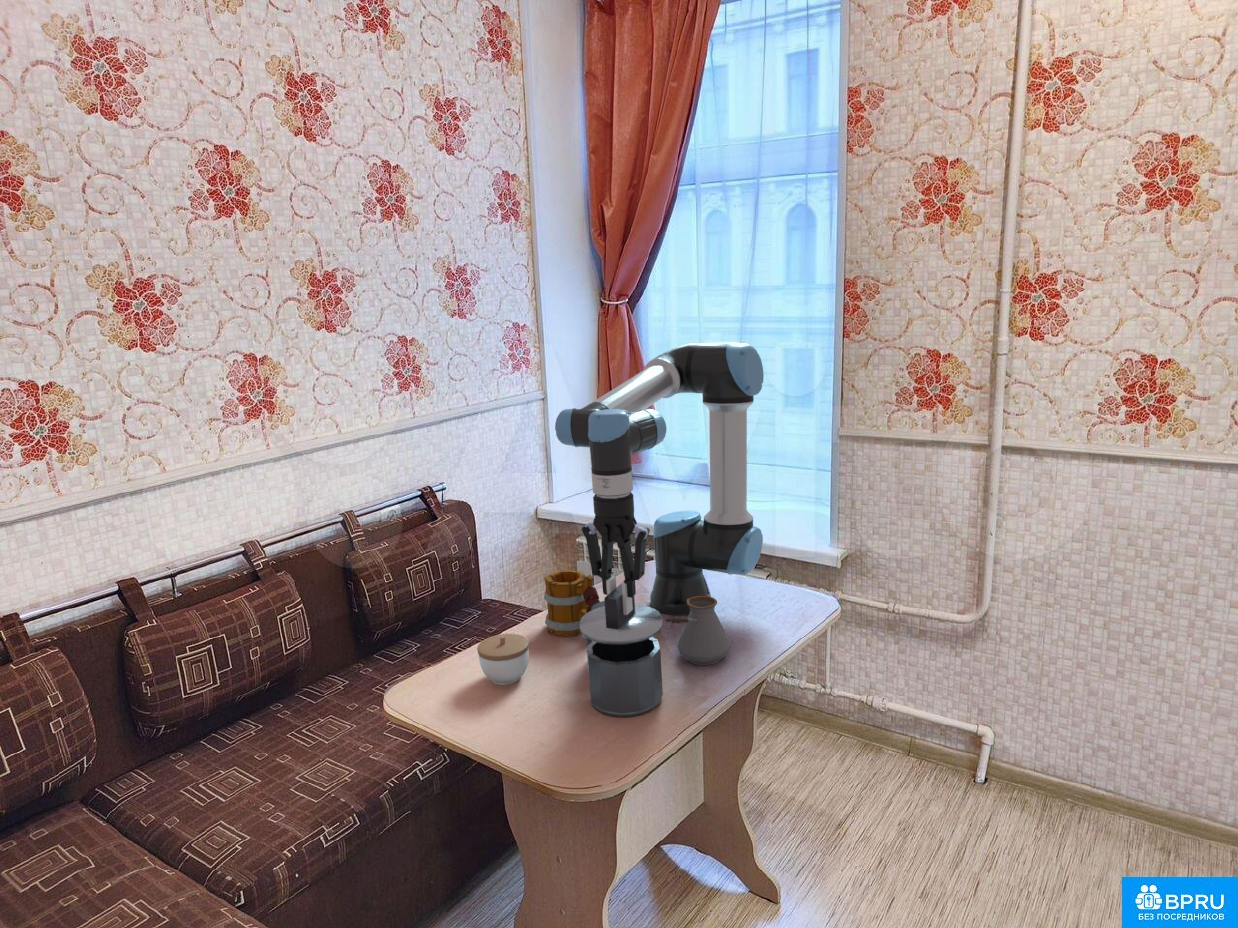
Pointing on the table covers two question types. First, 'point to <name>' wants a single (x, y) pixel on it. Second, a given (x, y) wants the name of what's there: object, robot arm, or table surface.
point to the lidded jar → (504, 657)
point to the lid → (620, 621)
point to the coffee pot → (702, 633)
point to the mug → (568, 601)
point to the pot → (625, 677)
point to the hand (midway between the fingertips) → (620, 610)
